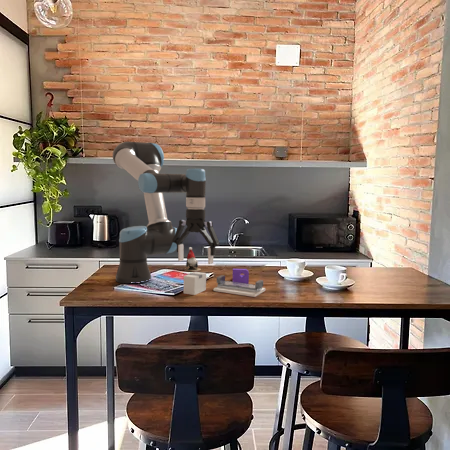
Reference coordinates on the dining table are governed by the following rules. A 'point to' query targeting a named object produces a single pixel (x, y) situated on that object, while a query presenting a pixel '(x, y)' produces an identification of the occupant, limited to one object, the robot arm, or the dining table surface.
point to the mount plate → (239, 291)
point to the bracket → (241, 276)
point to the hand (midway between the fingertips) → (195, 262)
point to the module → (194, 283)
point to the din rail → (239, 285)
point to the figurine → (192, 261)
